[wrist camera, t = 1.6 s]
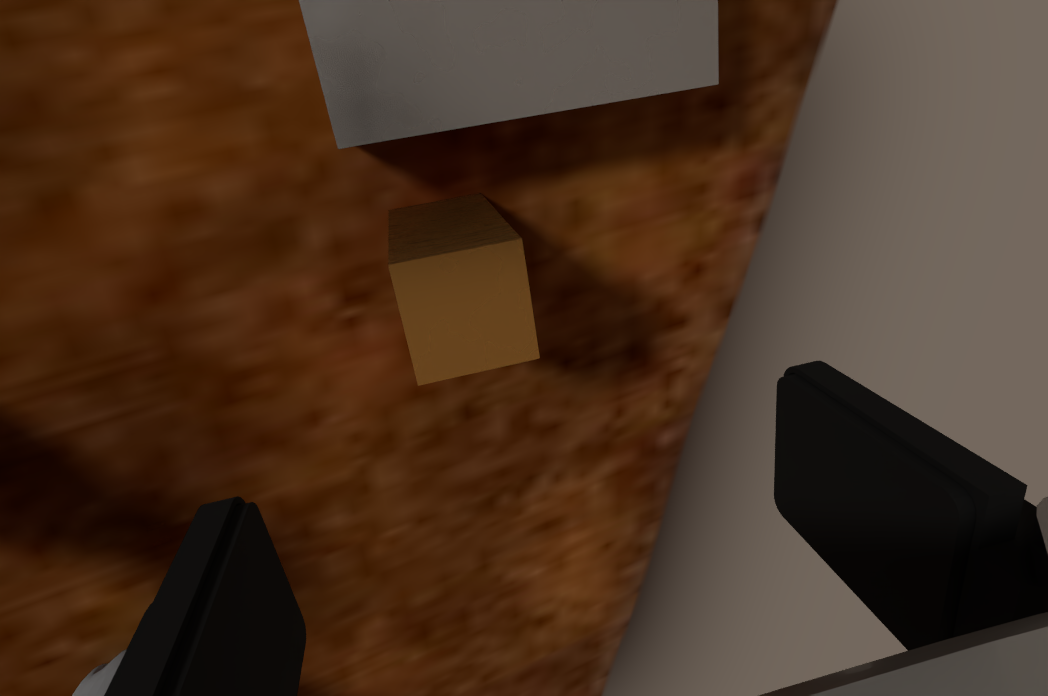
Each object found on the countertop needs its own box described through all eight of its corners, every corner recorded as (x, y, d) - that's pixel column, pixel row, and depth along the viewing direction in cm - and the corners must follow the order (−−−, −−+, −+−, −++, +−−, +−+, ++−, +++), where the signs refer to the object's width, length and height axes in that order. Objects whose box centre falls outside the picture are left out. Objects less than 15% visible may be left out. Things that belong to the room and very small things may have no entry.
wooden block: (388, 210, 25) (388, 265, 17) (480, 193, 26) (521, 238, 18) (409, 298, 27) (418, 385, 19) (495, 280, 28) (539, 358, 19)
